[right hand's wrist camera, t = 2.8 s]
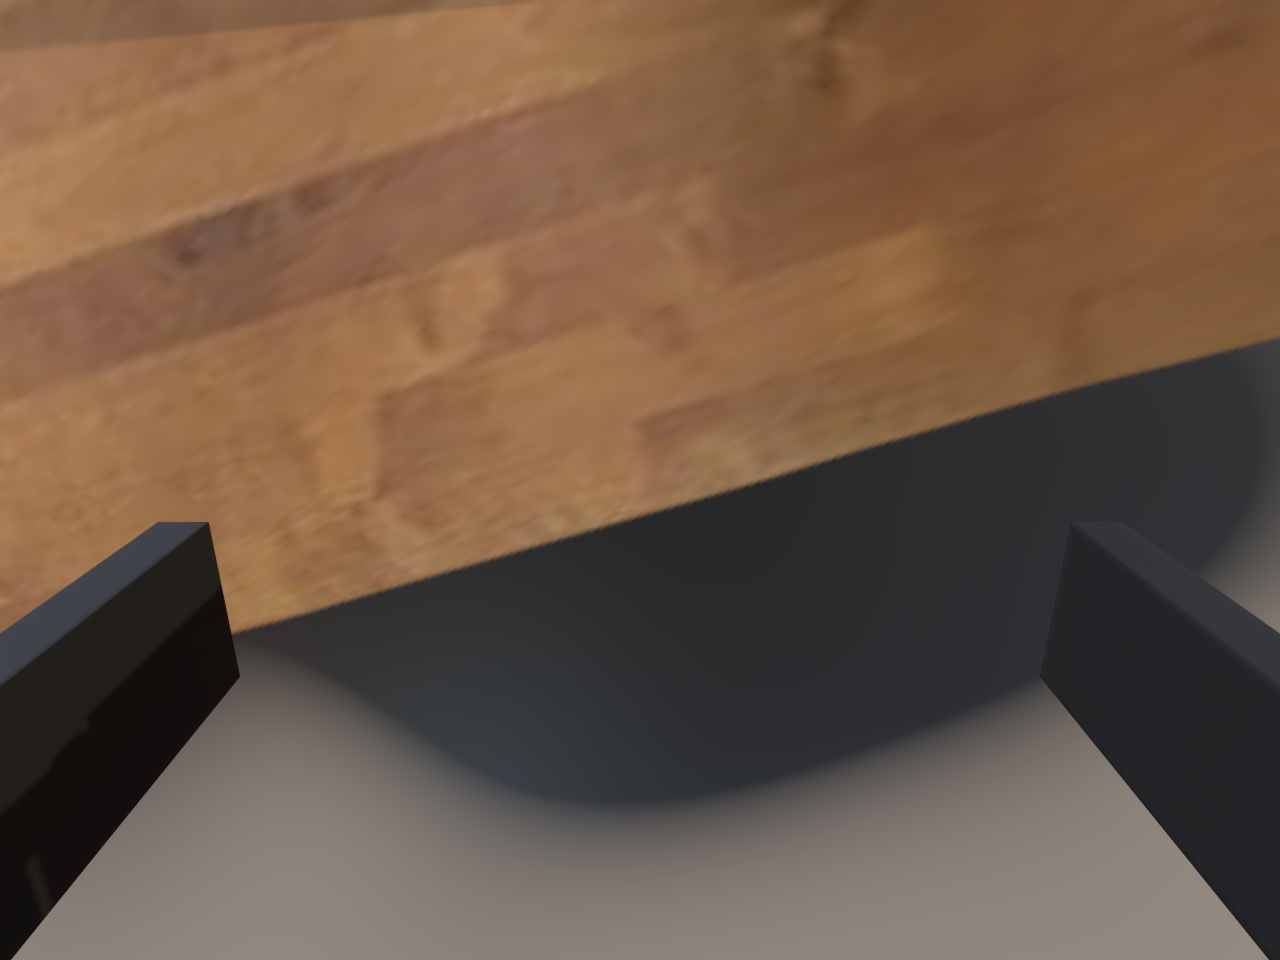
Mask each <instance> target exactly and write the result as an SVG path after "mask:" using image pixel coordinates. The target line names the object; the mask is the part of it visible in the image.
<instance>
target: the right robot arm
mask: <svg viewBox="0 0 1280 960" xmlns="http://www.w3.org/2000/svg"><path fill="white" fill-rule="evenodd" d="M239 677H240V674H239V669H238V664H237V659H236V654H235V649H234V645H233V640H232V635H231V630H230V625H229V620H228V615H227V610H226V605H225V600H224V595H223V591H222V586H221V581H220V576H219V571H218V566H217V561H216V556H215V551H214V546H213V541H212V537H211V532H210V527H209V522H158V523H156V524H155V525H153V526H152V527H151V528H149V529H148V530H146V531H145V532H143V533H142V534H141V535H139V536H138V537H136V538H135V539H134V540H132V541H131V542H129V543H128V544H126V545H125V546H124V547H122V548H121V549H119V550H118V551H117V552H115V553H114V554H112V555H111V556H109V557H108V558H107V559H105V560H104V561H102V562H101V563H100V564H98V565H97V566H95V567H94V568H92V569H91V570H90V571H88V572H87V573H85V574H84V575H83V576H81V577H80V578H78V579H77V580H75V581H74V582H73V583H71V584H70V585H68V586H67V587H66V588H64V589H63V590H61V591H60V592H58V593H57V594H56V595H54V596H53V597H51V598H50V599H49V600H47V601H46V602H44V603H43V604H41V605H40V606H39V607H37V608H36V609H34V610H33V611H32V612H30V613H29V614H27V615H26V616H24V617H23V618H22V619H20V620H19V621H17V622H16V623H15V624H13V625H12V626H10V627H9V628H7V629H6V630H5V631H3V632H2V633H0V960H11V959H12V958H13V957H14V955H15V954H16V953H17V952H18V950H19V949H20V948H21V947H22V945H23V944H24V943H25V942H26V940H27V939H28V938H29V937H30V936H31V934H32V933H33V932H34V931H35V929H36V928H37V927H38V926H39V924H40V923H41V922H42V921H43V919H44V918H45V917H46V916H47V915H48V913H49V912H50V911H51V910H52V908H53V907H54V906H55V905H56V903H57V902H58V901H59V900H60V898H61V897H62V896H63V895H64V894H65V892H66V891H67V890H68V889H69V887H70V886H71V885H72V884H73V882H74V881H75V880H76V879H77V877H78V876H79V875H80V874H81V873H82V871H83V870H84V869H85V868H86V866H87V865H88V864H89V863H90V861H91V860H92V859H93V858H94V856H95V855H96V854H97V853H98V852H99V850H100V849H101V848H102V847H103V845H104V844H105V843H106V842H107V840H108V839H109V838H110V837H111V835H112V834H113V833H114V832H115V831H116V829H117V828H118V827H119V825H120V824H121V823H122V822H123V821H124V819H125V818H126V817H127V816H128V814H129V813H130V812H131V811H132V809H133V808H134V807H135V806H136V805H137V803H138V802H139V801H140V800H141V798H142V797H143V796H144V795H145V793H146V792H147V791H148V790H149V788H150V787H151V786H152V785H153V784H154V782H155V781H156V780H157V779H158V777H159V776H160V775H161V774H162V772H163V771H164V770H165V769H166V767H167V766H168V765H169V764H170V762H171V761H172V760H173V759H174V758H175V756H176V755H177V754H178V753H179V751H180V750H181V749H182V748H183V746H184V745H185V744H186V743H187V741H188V740H189V739H190V738H191V737H192V735H193V734H194V733H195V732H196V730H197V729H198V728H199V727H200V725H201V724H202V723H203V722H204V720H205V719H206V718H207V717H208V716H209V714H210V713H211V712H212V711H213V709H214V708H215V707H216V706H217V704H218V703H219V702H220V701H221V699H222V698H223V697H224V696H225V694H226V693H227V692H228V691H229V689H230V688H231V687H232V686H233V685H234V683H235V682H236V681H237V680H238V678H239ZM1040 677H1041V678H1042V680H1043V681H1044V682H1045V683H1046V685H1047V686H1048V687H1049V688H1050V690H1051V691H1052V692H1053V693H1054V694H1055V696H1056V697H1057V698H1058V699H1059V701H1060V702H1061V703H1062V704H1063V706H1064V707H1065V708H1066V709H1067V711H1068V712H1069V713H1070V714H1071V715H1072V717H1073V718H1074V719H1075V720H1076V722H1077V723H1078V724H1079V725H1080V727H1081V728H1082V729H1083V730H1084V732H1085V733H1086V734H1087V735H1088V737H1089V738H1090V739H1091V740H1092V741H1093V743H1094V744H1095V745H1096V746H1097V748H1098V749H1099V750H1100V751H1101V753H1102V754H1103V755H1104V756H1105V757H1106V759H1107V760H1108V761H1109V762H1110V764H1111V765H1112V766H1113V767H1114V769H1115V770H1116V771H1117V772H1118V774H1119V775H1120V776H1121V777H1122V779H1123V780H1124V781H1125V782H1126V784H1127V785H1128V786H1129V787H1130V788H1131V790H1132V791H1133V792H1134V793H1135V795H1136V796H1137V797H1138V798H1139V800H1140V801H1141V802H1142V803H1143V805H1144V806H1145V807H1146V808H1147V809H1148V811H1149V812H1150V813H1151V814H1152V816H1153V817H1154V818H1155V819H1156V821H1157V822H1158V823H1159V824H1160V826H1161V827H1162V828H1163V829H1164V831H1165V832H1166V833H1167V834H1168V835H1169V837H1170V838H1171V839H1172V840H1173V842H1174V843H1175V844H1176V845H1177V847H1178V848H1179V849H1180V850H1181V852H1182V853H1183V854H1184V855H1185V856H1186V858H1187V859H1188V860H1189V861H1190V863H1191V864H1192V865H1193V866H1194V868H1195V869H1196V870H1197V871H1198V873H1199V874H1200V875H1201V876H1202V878H1203V879H1204V880H1205V881H1206V882H1207V884H1208V885H1209V886H1210V887H1211V889H1212V890H1213V891H1214V892H1215V894H1216V895H1217V896H1218V897H1219V898H1220V900H1221V901H1222V902H1223V903H1224V905H1225V906H1226V907H1227V908H1228V910H1229V911H1230V912H1231V913H1232V915H1233V916H1234V917H1235V918H1236V920H1237V921H1238V922H1239V923H1240V924H1241V926H1242V927H1243V928H1244V929H1245V931H1246V932H1247V933H1248V934H1249V936H1250V937H1251V938H1252V939H1253V941H1254V942H1255V943H1256V944H1257V945H1258V947H1259V948H1260V949H1261V950H1262V952H1263V953H1264V954H1265V955H1266V957H1267V958H1268V959H1269V960H1280V633H1278V632H1277V631H1275V630H1274V629H1273V628H1271V627H1270V626H1268V625H1267V624H1265V623H1264V622H1263V621H1261V620H1260V619H1258V618H1257V617H1256V616H1254V615H1253V614H1251V613H1250V612H1248V611H1247V610H1246V609H1244V608H1243V607H1241V606H1240V605H1239V604H1237V603H1236V602H1234V601H1233V600H1231V599H1230V598H1229V597H1227V596H1226V595H1224V594H1223V593H1222V592H1220V591H1219V590H1217V589H1216V588H1214V587H1213V586H1212V585H1210V584H1209V583H1207V582H1206V581H1205V580H1203V579H1202V578H1200V577H1199V576H1197V575H1196V574H1195V573H1193V572H1192V571H1190V570H1189V569H1187V568H1186V567H1185V566H1183V565H1182V564H1180V563H1179V562H1178V561H1176V560H1175V559H1173V558H1172V557H1170V556H1169V555H1168V554H1166V553H1165V552H1163V551H1162V550H1161V549H1159V548H1158V547H1156V546H1155V545H1154V544H1152V543H1151V542H1149V541H1148V540H1146V539H1145V538H1144V537H1142V536H1141V535H1139V534H1138V533H1137V532H1135V531H1134V530H1132V529H1131V528H1129V527H1128V526H1127V525H1125V524H1124V523H1122V522H1071V527H1070V532H1069V537H1068V542H1067V546H1066V551H1065V556H1064V561H1063V566H1062V571H1061V576H1060V581H1059V586H1058V591H1057V595H1056V600H1055V606H1054V610H1053V615H1052V620H1051V625H1050V630H1049V635H1048V640H1047V645H1046V650H1045V654H1044V659H1043V664H1042V669H1041V674H1040Z"/></svg>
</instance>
